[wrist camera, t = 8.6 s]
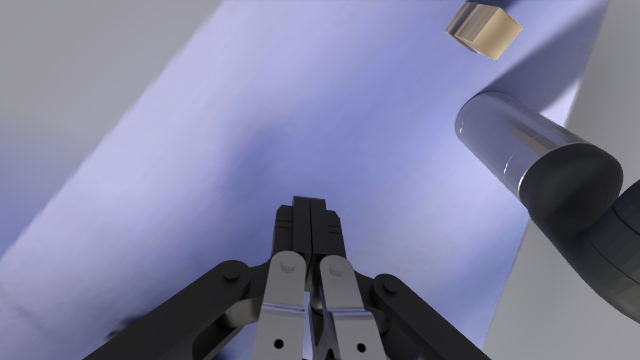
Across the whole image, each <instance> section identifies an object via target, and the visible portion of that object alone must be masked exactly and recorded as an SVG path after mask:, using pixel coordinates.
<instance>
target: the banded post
mask: <svg viewBox="0 0 640 360" xmlns="http://www.w3.org/2000/svg"><path fill="white" fill-rule="evenodd" d="M522 29H523V27H522V26H520V25H519V24H518V23H517V22H516V21H515V20H514V19H512V18H511V17H510V16H509V15H508V14H507V13H506V12H504V11H503V10H502V9H501V8H500V7H495V6H489V5H483V4H480V3H478V2H465V4H464V5H463V6H462V8H461V9H460V11H459V12H458V13H457V15H456V16H455V17H454V19H453V20H452V21H451V23H450V24H449V26H448V27H447V28H446V30H445V32H446V33H447V34H449V35H450V36H451V37H453V38H454V39H455V40H456V41H458V42H459V43H460V44H462V45H463V46H464V47H466V48H468V49H469V50H470V51H472V52H475V53H479V54H482V55H484V56H486V57H489V58H491V59H493V60H495V61H496V60H497V59H498V58H499V56H500V55H501V54H502V53H503V52H504V51H505V49H506V48H507V47H508V46H509V45H510V43H511V42H512V41H513V40H514V39H515V38H516V36H517V35H518V34H519V33H520V32H521V31H522Z"/></svg>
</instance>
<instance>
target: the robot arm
mask: <svg viewBox="0 0 640 360" xmlns="http://www.w3.org/2000/svg"><path fill="white" fill-rule="evenodd" d="M455 131H456V134H457V137H458V138H459V139H460V141H461V142H462V143H463V144H464V145H465V146H466V147H467V148H468V149H469V150H470V151H471V152H472V153H473V154H474V155H475V156H476V157H477V158H478V159H479V160H480V161H481V162H482V163H483V164H484V165H485V166H486V167H487V168H488V169H489V170H490V171H491V172H492V173H493V174H494V175H495V176H496V177H497V178H498V179H499V180H500V181H501V182H502V183H503V184H504V185H505V187H506V188H507V189H508V190H509V191H510V192H512V193H513V195H514V196H515V197H516V198H517V199H518V200H519V201H520V202H521V203H522V204H523V205H524V206H525V207H526V208H527V209H528V212H529V215H530V217H531V219H532V220H533V222H534V223H535V224H536V225H537V226H538V227H539V229H540V230H541V231H542V232H543V233H544V234H545V235H546V237H547V238H548V239H549V240H550V241H551V242H552V244H553V245H554V246H555V247H556V248H557V250H558V251H559V252H560V253H561V255H562V256H563V257H564V258H565V259H566V260H567V262H568V263H569V264H570V265H571V267H572V268H573V269H574V270H575V271H576V272H577V273H578V274H579V275H580V277H581V278H582V279H583V280H584V281H585V282H586V283H587V284H588V285H589V286H590V287H591V288H592V289H593V290H594V291H595V292H596V293H597V294H598V295H599V296H600V297H602V298H603V299H604V300H605V301H607V302H608V303H609V304H610V305H612V306H613V307H614V308H615V309H617V310H618V311H619V312H621V313H622V314H624V315H626V316H627V317H629V318H631V319H632V320H634V321H636V322H638V323H639V324H640V180H638V181H637V182H635V183H634V184H633V185H632V186H630V187H629V188H628V189H627V190H626V191H625V192H624V193H623V194H621V195H620V197H619V198H618V196H619V193H620V190H621V187H622V183H623V170H622V167H621V165H620V163H619V162H618V161H617V160H616V159H615V158H614V157H613V156H612V155H610V154H608V153H607V152H606V151H604V150H602V149H600V148H598V147H597V146H595V145H593V144H591V143H590V142H588V141H586V140H584V139H583V138H581V137H579V136H578V135H576V134H574V133H572V132H570V131H569V130H567V129H565V128H563V127H562V126H560V125H558V124H556V123H555V122H553V121H551V120H549V119H548V118H546V117H544V116H543V115H541V114H539V113H537V112H536V111H534V110H532V109H530V108H529V107H527V106H525V105H523V104H522V103H520V102H519V101H517V100H515V99H513V98H512V97H510V96H508V95H506V94H504V93H502V92H498V91H489V92H485V93H482V94H479V95H477V96H475V97H474V98H472V99H471V100H470V101H468V102H467V103H466V104H465V105H464V107H463V108H462V109H461V111H460V112H459V114H458V116H457V119H456V123H455ZM304 291H307V292H310V301H309V305H308V313H309V323H310V332H311V341H312V350H313V359H312V360H491V359H490V358H489V357H488V356H487V355H485V354H484V353H483V352H482V351H481V350H480V349H479V348H477V347H476V346H475V345H474V344H473V343H472V342H471V341H469V340H468V339H467V338H466V337H465V336H464V335H463V334H461V333H460V332H459V331H458V330H457V329H456V328H455V327H453V326H452V325H451V324H450V323H449V322H448V321H447V320H445V319H444V318H443V317H442V316H441V315H440V314H439V313H437V312H436V311H435V310H434V309H433V308H432V307H431V306H429V305H428V304H427V303H426V302H425V301H424V300H423V299H421V298H420V297H419V296H418V295H417V294H416V293H415V292H413V291H412V290H411V289H410V288H409V287H408V286H407V285H405V284H404V283H403V282H402V281H401V280H400V279H398V278H397V277H395V276H393V275H390V274H379V275H377V276H376V277H375V278H374V279H372V278H370V277H367V276H364V275H362V274H359V273H358V272H356V271H355V270H354V269H353V267H352V265H351V263H350V262H349V261H348V260H347V258H346V252H345V246H344V240H343V235H342V229H341V223H340V218H339V217H338V215H337V214H336V212H335V211H331V210H326V203H325V199H319V198H309V197H301V196H293V201H292V206H287V205H281V206H280V208H279V209H278V210H277V212H276V219H275V225H274V232H273V241H272V251H271V258H270V259H269V260H268V261H267V262H266V263H264V264H262V265H259V266H255V267H250V268H249V267H248V266H247V265H246V264H245V263H243V262H241V261H237V260H228V261H224V262H222V263H220V264H218V265H217V266H216V267H214V268H213V269H211V270H210V271H208V272H207V273H206V274H204V275H203V276H201V277H200V278H198V279H197V280H196V281H194V282H193V283H191V284H190V285H188V286H187V287H185V288H184V289H183V290H181V291H180V292H178V293H177V294H175V295H174V296H173V297H171V298H170V299H168V300H167V301H165V302H164V303H163V304H161V305H160V306H158V307H157V308H155V309H154V310H153V311H151V312H150V313H148V314H147V315H145V316H144V317H143V318H141V319H140V320H138V321H137V322H135V323H134V324H133V325H131V326H130V327H128V328H127V329H125V330H124V331H123V332H121V333H120V334H118V335H117V336H115V337H114V338H112V339H111V340H110V341H108V342H107V343H105V344H104V345H102V346H101V347H100V348H98V349H97V350H95V351H94V352H92V353H91V354H90V355H88V356H87V357H85V358H84V359H82V360H211V359H212V358H213V357H214V356H215V355H216V354H217V353H218V352H219V351H220V350H221V349H222V348H223V347H224V346H225V345H226V344H227V343H228V342H229V341H230V340H231V339H232V338H234V337H235V336H236V335H237V334H238V333H239V332H240V331H241V330H242V329H243V327H244V326H245V325H246V324H250V323H254V322H257V321H258V327H257V332H256V337H255V342H254V347H253V352H252V357H251V360H307V359H304V358H302V351H303V335H304V319H305V311H304V310H303V302H304Z"/></svg>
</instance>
